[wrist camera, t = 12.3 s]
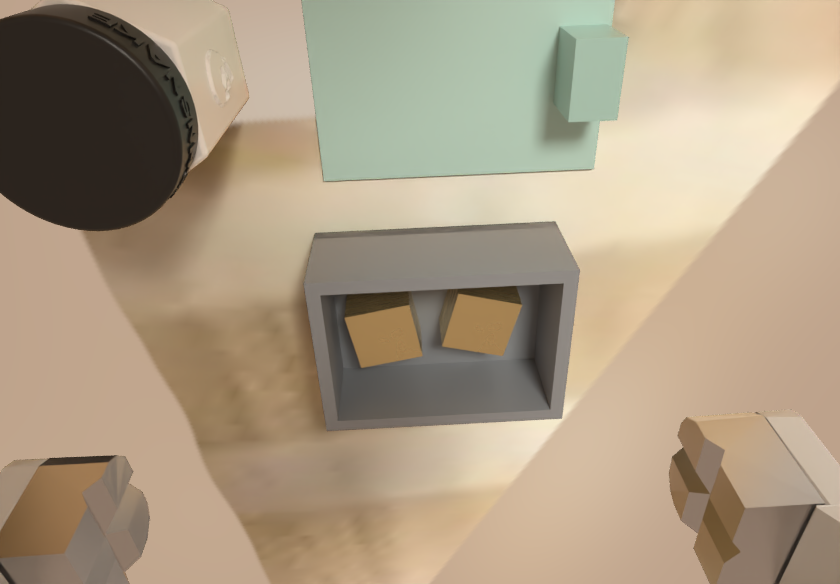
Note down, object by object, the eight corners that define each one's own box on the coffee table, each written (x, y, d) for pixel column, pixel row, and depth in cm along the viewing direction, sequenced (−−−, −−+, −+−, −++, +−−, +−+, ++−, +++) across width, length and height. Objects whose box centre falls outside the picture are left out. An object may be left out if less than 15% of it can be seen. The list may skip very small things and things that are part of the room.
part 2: (454, 268, 39) (458, 293, 37) (514, 279, 40) (522, 304, 37) (438, 318, 41) (442, 346, 39) (496, 328, 42) (502, 356, 40)
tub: (314, 233, 39) (303, 283, 33) (555, 221, 39) (579, 270, 34) (334, 370, 44) (326, 431, 39) (542, 359, 45) (561, 418, 40)
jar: (263, 136, 35) (212, 232, 25) (121, 150, 35) (13, 252, 25) (221, -43, 30) (137, -13, 20) (57, -25, 30) (-109, 14, 20)
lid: (297, -52, 31) (284, -45, 27) (617, -65, 31) (647, -60, 27) (325, 176, 37) (317, 206, 34) (590, 164, 37) (611, 192, 34)
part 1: (347, 291, 40) (344, 317, 37) (407, 279, 40) (409, 305, 37) (363, 339, 42) (361, 368, 40) (420, 328, 42) (422, 356, 39)
